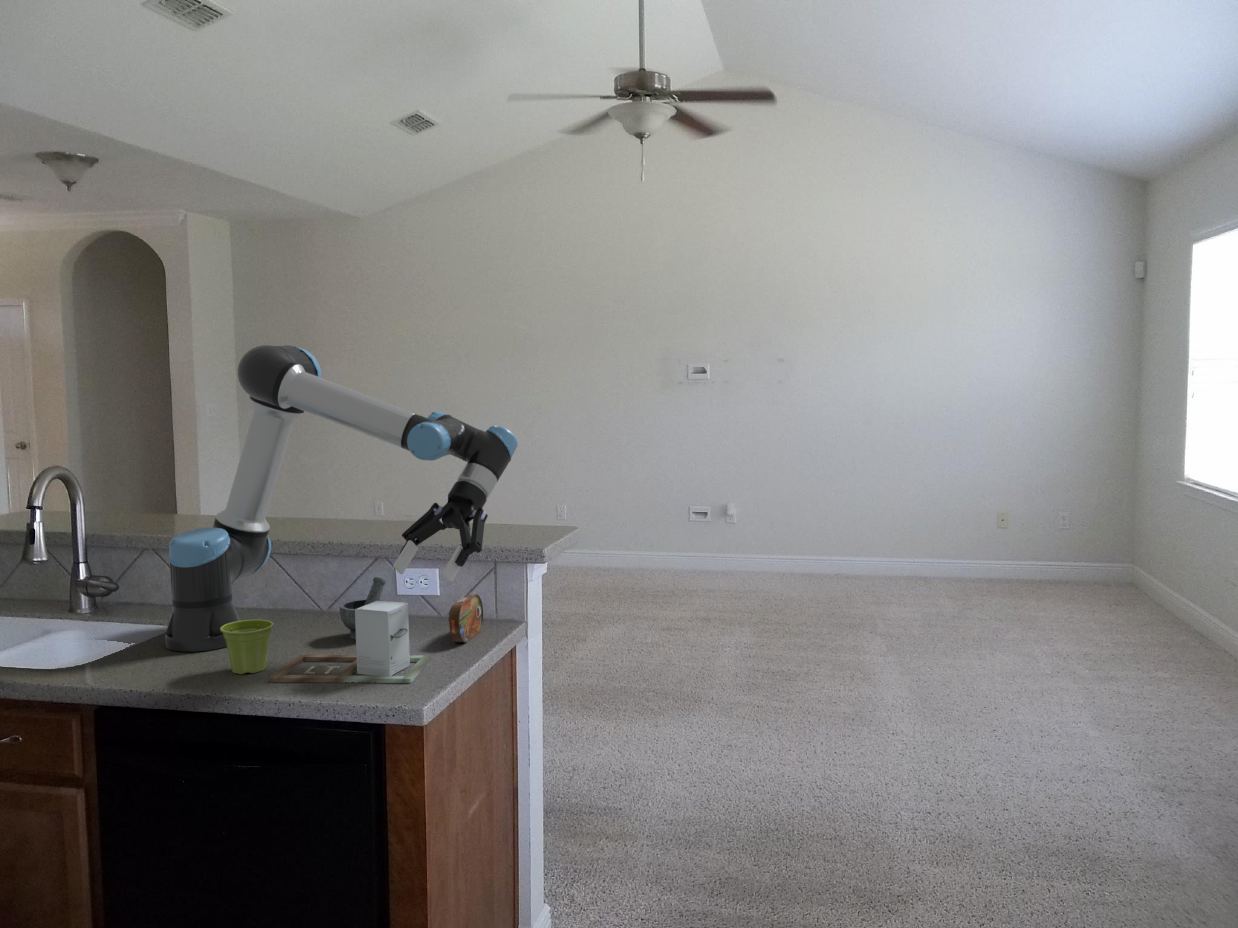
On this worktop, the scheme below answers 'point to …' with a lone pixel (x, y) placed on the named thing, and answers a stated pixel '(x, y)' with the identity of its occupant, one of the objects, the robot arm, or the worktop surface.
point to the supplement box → (382, 638)
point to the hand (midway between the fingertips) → (421, 574)
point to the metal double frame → (346, 674)
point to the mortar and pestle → (360, 605)
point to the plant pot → (247, 644)
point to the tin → (466, 618)
